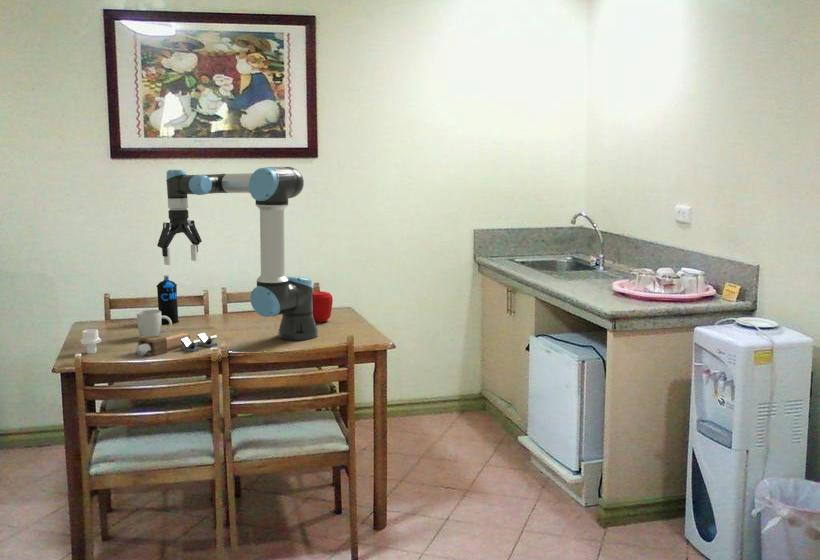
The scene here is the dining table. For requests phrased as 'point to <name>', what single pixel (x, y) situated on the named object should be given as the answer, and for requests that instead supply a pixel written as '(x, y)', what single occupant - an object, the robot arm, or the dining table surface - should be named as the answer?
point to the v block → (198, 343)
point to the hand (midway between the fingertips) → (181, 262)
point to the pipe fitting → (90, 340)
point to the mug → (151, 322)
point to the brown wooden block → (176, 339)
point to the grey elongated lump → (144, 349)
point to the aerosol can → (168, 300)
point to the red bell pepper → (322, 306)
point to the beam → (157, 344)
